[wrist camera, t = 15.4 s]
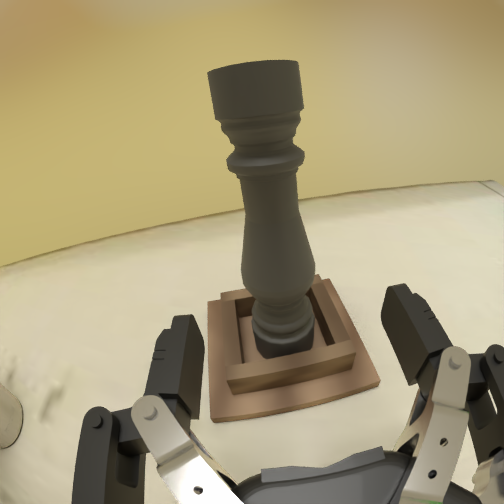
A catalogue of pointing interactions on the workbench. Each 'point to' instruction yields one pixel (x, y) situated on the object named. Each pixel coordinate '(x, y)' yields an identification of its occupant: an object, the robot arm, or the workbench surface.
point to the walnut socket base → (283, 359)
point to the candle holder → (269, 197)
